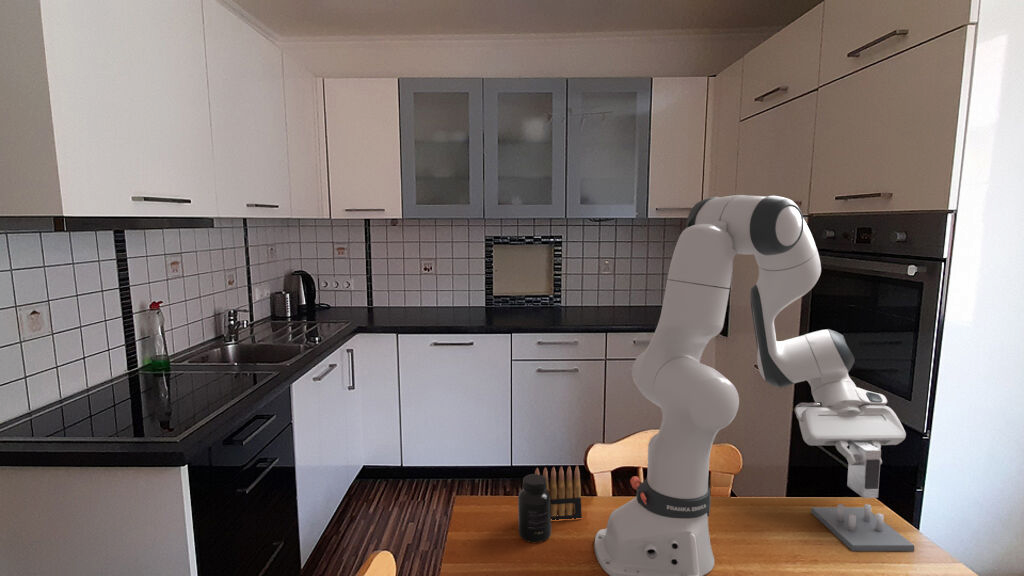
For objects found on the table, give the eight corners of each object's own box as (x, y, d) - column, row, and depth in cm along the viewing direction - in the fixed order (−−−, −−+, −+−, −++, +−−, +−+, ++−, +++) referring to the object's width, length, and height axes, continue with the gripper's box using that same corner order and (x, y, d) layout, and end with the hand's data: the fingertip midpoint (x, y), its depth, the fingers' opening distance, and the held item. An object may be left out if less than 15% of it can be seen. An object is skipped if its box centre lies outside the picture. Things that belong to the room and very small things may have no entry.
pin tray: (852, 551, 100) (853, 529, 99) (811, 512, 114) (812, 493, 113) (913, 551, 100) (915, 529, 99) (865, 512, 114) (866, 493, 113)
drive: (863, 498, 103) (866, 450, 102) (847, 485, 109) (849, 440, 107) (878, 498, 103) (882, 450, 102) (861, 485, 109) (864, 440, 107)
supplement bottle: (515, 527, 109) (514, 473, 107) (546, 523, 110) (546, 469, 109) (522, 546, 102) (522, 488, 101) (555, 541, 103) (555, 484, 102)
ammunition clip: (579, 515, 113) (580, 463, 112) (581, 519, 111) (582, 467, 110) (532, 518, 112) (532, 466, 111) (533, 523, 110) (533, 470, 109)
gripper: (797, 396, 111) (822, 459, 102) (892, 395, 111) (925, 458, 102) (786, 409, 116) (808, 470, 107) (876, 408, 116) (906, 469, 107)
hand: (866, 464), depth 105 cm, fingers closed on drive, 3 cm apart
